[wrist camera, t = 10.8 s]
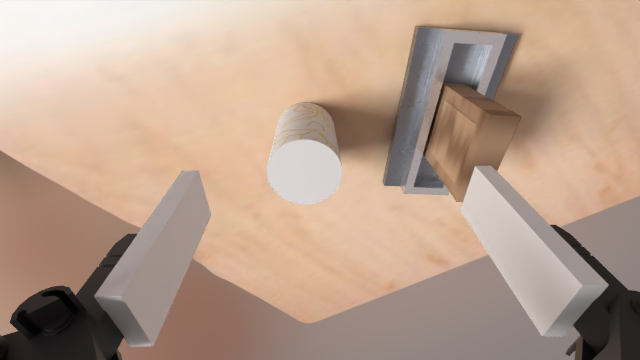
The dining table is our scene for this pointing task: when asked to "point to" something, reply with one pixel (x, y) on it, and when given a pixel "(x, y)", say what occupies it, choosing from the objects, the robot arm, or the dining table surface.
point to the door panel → (467, 135)
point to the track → (424, 89)
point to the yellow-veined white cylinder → (305, 155)
